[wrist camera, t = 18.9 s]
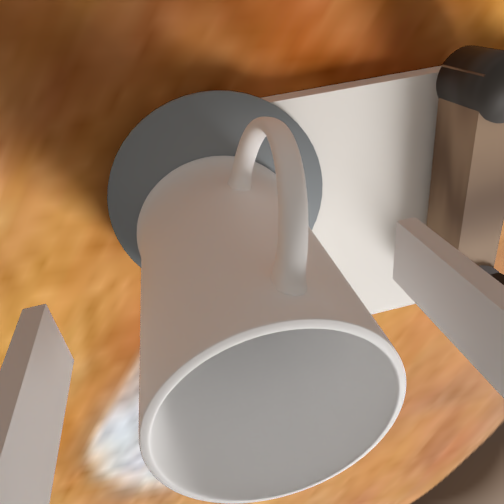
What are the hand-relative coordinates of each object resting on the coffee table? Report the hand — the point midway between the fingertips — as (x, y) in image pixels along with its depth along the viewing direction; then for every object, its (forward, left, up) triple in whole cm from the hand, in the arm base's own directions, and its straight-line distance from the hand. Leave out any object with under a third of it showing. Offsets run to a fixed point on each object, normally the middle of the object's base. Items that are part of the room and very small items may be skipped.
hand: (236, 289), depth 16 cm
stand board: (+6, -2, -8) cm, 11 cm away
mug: (+1, 0, -7) cm, 7 cm away
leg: (+13, -1, -7) cm, 15 cm away
